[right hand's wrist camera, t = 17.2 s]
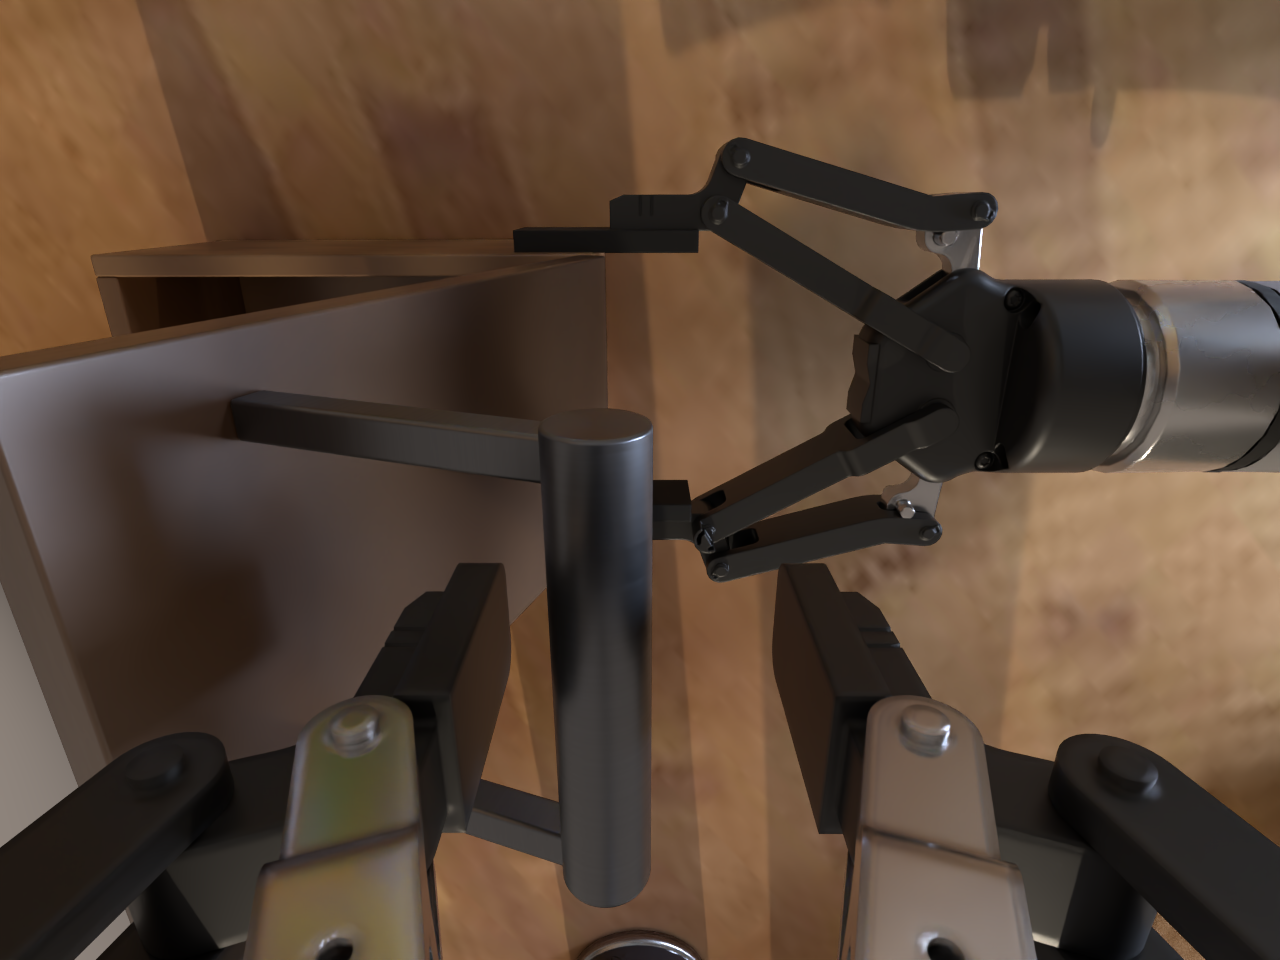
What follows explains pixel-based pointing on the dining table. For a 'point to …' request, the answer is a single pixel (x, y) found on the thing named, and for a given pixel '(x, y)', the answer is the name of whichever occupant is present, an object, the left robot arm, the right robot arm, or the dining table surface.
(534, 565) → the lid
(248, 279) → the chest
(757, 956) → the dining table surface
